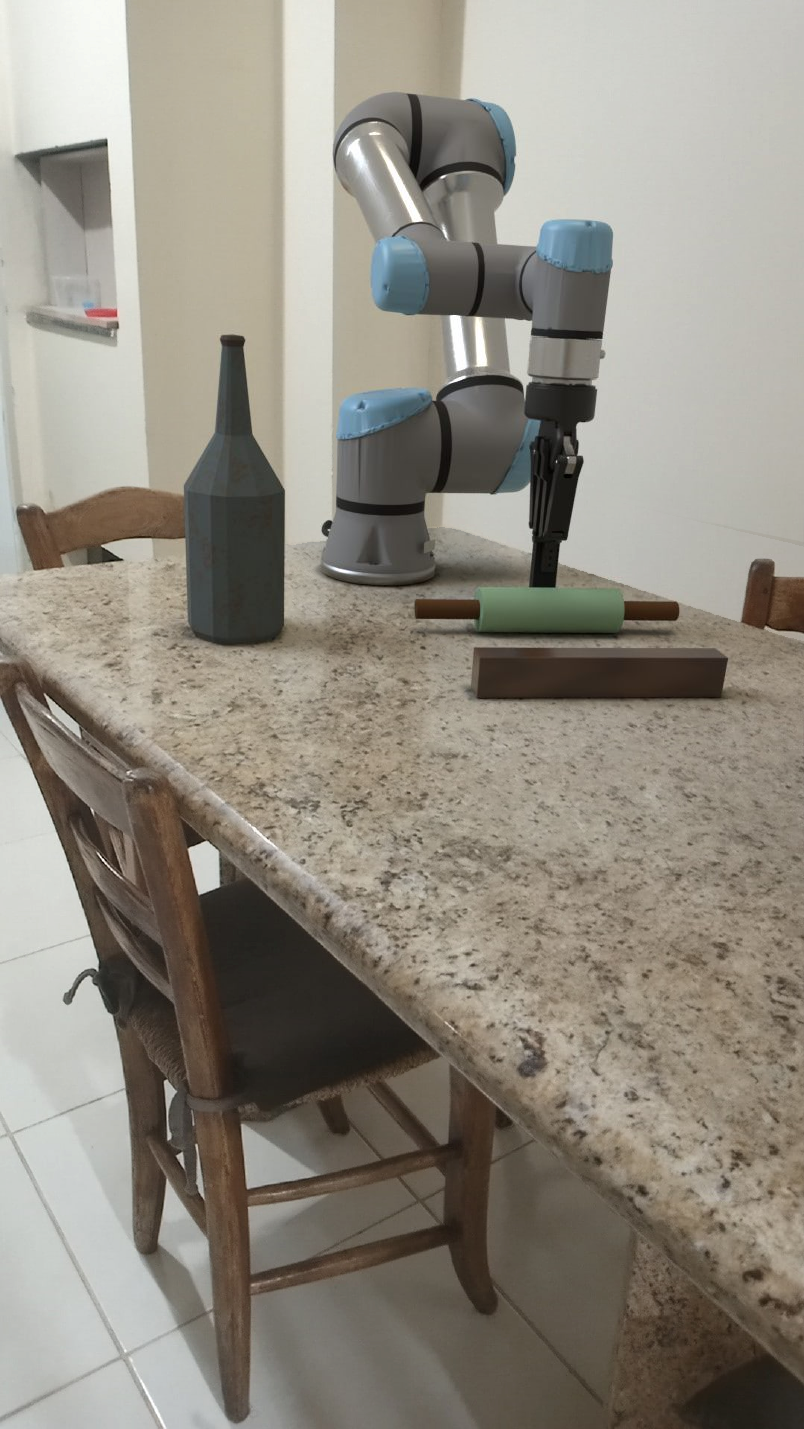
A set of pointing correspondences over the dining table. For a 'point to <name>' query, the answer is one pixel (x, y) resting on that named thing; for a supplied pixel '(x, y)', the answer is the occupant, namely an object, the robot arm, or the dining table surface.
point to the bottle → (234, 523)
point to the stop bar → (597, 672)
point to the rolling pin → (547, 610)
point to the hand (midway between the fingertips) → (541, 596)
